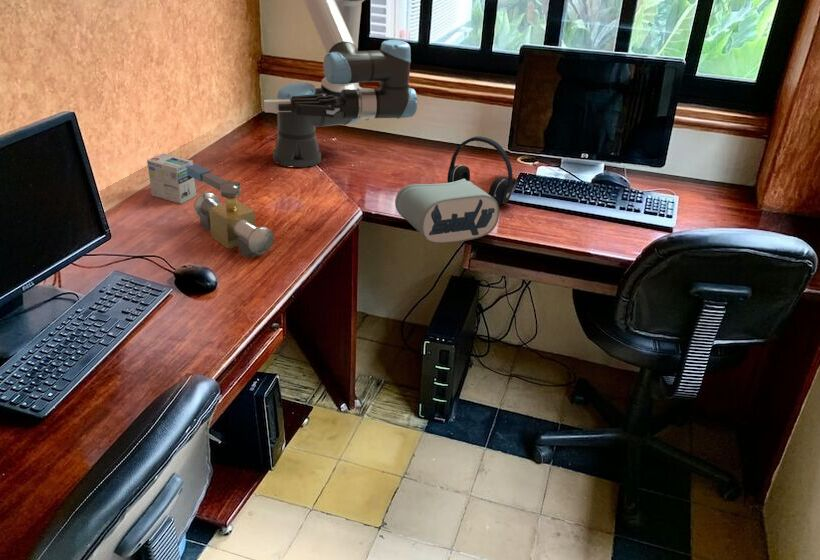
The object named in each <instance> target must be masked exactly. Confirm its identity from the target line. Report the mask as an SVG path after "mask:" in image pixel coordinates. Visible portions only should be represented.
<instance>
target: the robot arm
mask: <svg viewBox="0 0 820 560" xmlns="http://www.w3.org/2000/svg"><path fill="white" fill-rule="evenodd" d="M364 1H365V0H303V2H304V4H305V7H306V9H307V11H308V14H309V16H310V18H311V20H312V24H313V26H314V27H315V29H316V32H317V34H318V36H319V40H320V41H321V43H322V46H323V48H324V51H325V53H326V54H325V55H324V58H323V62H322V63H323V64H322V65H323V71H324V77H323V78H322V79H321V85H320V87H319V88H318V87H315V85H314V84H312V83H309V82H296V83H295V82H294V83H290V84H286V85H285V86H282V87H281V88H279V90H278V91H277V94H276V95H277V96H276V99H264V100H263V105H264V107H263V108H264V109H263V110H264V113H276V114H277V139H276V142H275V145H274V149H273V150H272V151H273V153H272V160H273V162H274V161H275V162H277V163H279V164H282V165H285V166H293V167H305V168H308V167H307V166H311V167H314V166H316V165H318V164H319V163H321V162H322V152H321V149H320V146H319V143H318V140H317V137H316V128H317V127H330V126H340V125H343V126H345V125H346V126H347V125H350V124H356V123H357V122H359V121H360V119H361V120H364V119H365V120H366V121H370V119H405V118H412V117H413V116H415V115H416V112H417V111H418V110H417V109H418V94H417V92H416V90H415V89H414V88H411V87H410V86H409V85H410V83H409V82H410V71H411V63H412V59H411V56H412V54H411V51H412V50H411V45H410V44H409V43H408V42H406V41H403V40H398V39H388V40H384V41H382V42H381V45H380V49H379V50H360V51H359V49H358V48H359V35H360V24H361V15H362V3H364ZM372 82H373V83H375V82H379V88H362V87H361V86H360V83H372ZM275 162H274V163H275ZM277 163H276V164H277Z"/></svg>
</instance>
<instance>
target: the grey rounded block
mask: <svg viewBox="0 0 820 560" xmlns="http://www.w3.org/2000/svg"><path fill="white" fill-rule="evenodd" d="M394 200H395V204H394V205H395V210H396V211H397V213H398V214H399V215H400V217H402V218H403V219H405V220H406V221H407V222H408V224H410V226H412V227H413V228H414V229H415V230H416V231H417V232H418V233H420V235H421V236H423V238H425V240H426V241H428V242H430V243H433V244H438V245H440V244H453V243H461V242H466V241H473V240H477V239H480V238H483V237H485V236H487V235H489V234H490V233H492V232H493V230H494V229H495V228H496V226H497V224H498V221H499V218H500V208H499V205H498V203H497V201H496V200H495V199H494V198H493V197H491V196H490V195H489V193H487V192H486V191H485V190H483V189H482V188H481V187H478V186H477V185H475V184H474V183H473V182H472V181H471V180H470V181H467V180H466V179H461V180H458V181H455V182H450V183H448V182H445V183H444V182H443V183H442V182H441V183H420V184H419V183H416V184H415V183H413V184H409V185H407V186H406V185H405V186H404V187H402V188H401V189H400V190H399V191H398V192H397V194H396V197H395V199H394Z"/></svg>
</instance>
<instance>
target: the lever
mask: <svg viewBox="0 0 820 560" xmlns="http://www.w3.org/2000/svg"><path fill="white" fill-rule="evenodd" d="M187 175H189V176H191V177H193V178H194V179H195V181H196V180H197V182H201V183H202V182H203V183H205V184H207V185H209V186H210V187H213V188H214V189H216V190H218V191H219V192H220V196H221V197H223V198H225V199H226V198H235V197H236V198H238V197H240V196H241V194H242V191H241V190H242V189H241V183H240V182H238V181H235V180H228V181H227V180H226V179H224V178H222V177H220V176H218V175H216V174H215V173H212V172H211V170H210V169H207V168H206V167H204V166H202V165H200V164H198V163H195V164H194V163H193V165H191V166H187Z"/></svg>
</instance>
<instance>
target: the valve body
mask: <svg viewBox="0 0 820 560" xmlns="http://www.w3.org/2000/svg"><path fill="white" fill-rule="evenodd" d="M196 197H197V198H195V201H194V202H193V203H194V204H193V209H194V212H195V214H196V215H197V216H199V222H200V223H199V224H200V226H201V227H202V228H203V229H205V230H206V231H207V232H210V236H211V238H212V239H214V240H215V241H216V242H218V243H220V244H221V245H222V246H224V247H225V248H226V249H228V250H229V249H232V248H235V247H238V254H240V255H242V256H243V257H245V258H246V259H250V258H253V257H256V256H259V255H264V254H265V253H267V251H268V252H269V250H270V249H271V248H272V246H273V244H274V242H275V241H274V240H275V236H274V233H273V231H272V230H271V229H270V228H268V227H267V226H256V213H255V212H256V211H255V210H254V209H252V208H250V207H249V206H247V205H246V204H244V203H242V202H241V201H239V200H238V199H237V198H238V197H235V198H225V203H221V202H220V199H219V197H218V196H217V195H216V194H214V193H212V192H210V191H207V192H206V191H205V192H203V193H200V194H199V195H198V196H196Z"/></svg>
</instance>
